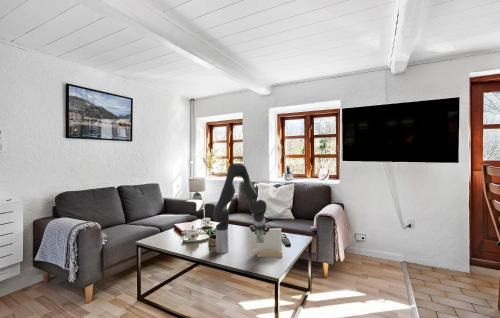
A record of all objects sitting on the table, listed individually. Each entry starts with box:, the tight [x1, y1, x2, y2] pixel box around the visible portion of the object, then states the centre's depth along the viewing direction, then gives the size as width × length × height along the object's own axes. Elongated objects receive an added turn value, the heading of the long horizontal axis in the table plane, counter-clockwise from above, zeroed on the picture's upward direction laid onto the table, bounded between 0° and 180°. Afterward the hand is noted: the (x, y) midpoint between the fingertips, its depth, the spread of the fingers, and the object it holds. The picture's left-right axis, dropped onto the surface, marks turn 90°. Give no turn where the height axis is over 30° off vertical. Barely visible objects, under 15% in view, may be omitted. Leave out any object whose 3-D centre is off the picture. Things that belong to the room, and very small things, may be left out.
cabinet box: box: [256, 230, 264, 243], centre depth 175 cm, size 5×3×11 cm, turn 85°
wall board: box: [256, 228, 283, 258], centre depth 183 cm, size 18×8×18 cm, turn 85°
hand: (260, 233), depth 177 cm, fingers closed on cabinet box, 5 cm apart
